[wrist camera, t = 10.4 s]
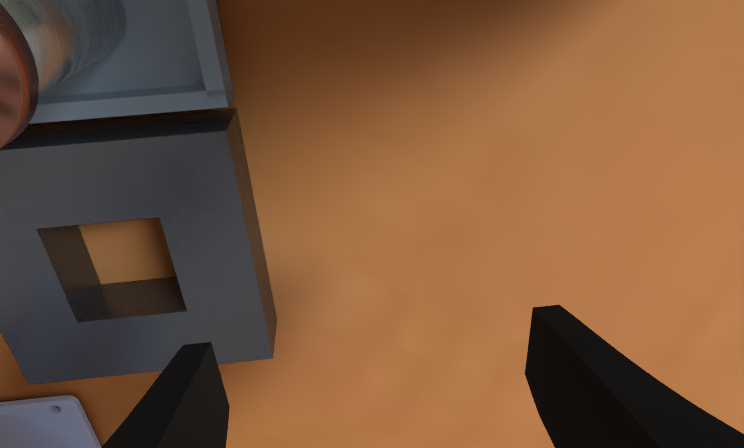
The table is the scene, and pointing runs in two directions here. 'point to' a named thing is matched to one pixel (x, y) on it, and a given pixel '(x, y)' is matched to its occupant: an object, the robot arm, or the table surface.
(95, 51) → the pin
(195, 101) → the tray
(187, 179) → the hitch block
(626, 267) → the table surface
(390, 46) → the table surface
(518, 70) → the table surface
